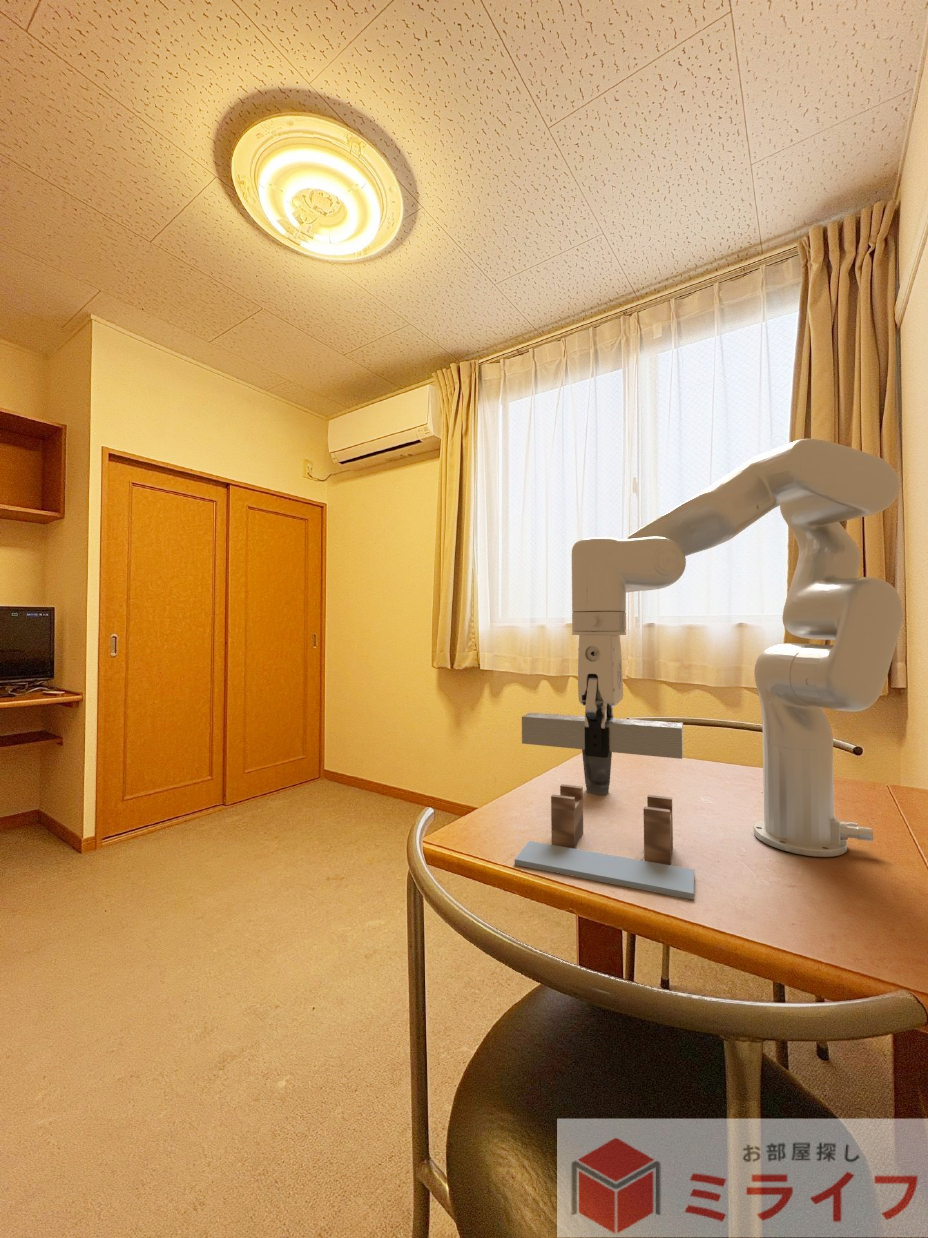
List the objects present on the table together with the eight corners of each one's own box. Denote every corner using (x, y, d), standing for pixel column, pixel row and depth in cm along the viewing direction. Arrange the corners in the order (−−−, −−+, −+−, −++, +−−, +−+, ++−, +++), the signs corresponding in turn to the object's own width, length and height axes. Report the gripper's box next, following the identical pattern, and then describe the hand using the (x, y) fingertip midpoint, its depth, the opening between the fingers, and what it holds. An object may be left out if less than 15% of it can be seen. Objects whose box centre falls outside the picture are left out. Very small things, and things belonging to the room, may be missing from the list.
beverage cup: (609, 799, 103) (608, 699, 103) (574, 793, 107) (573, 697, 107) (619, 789, 109) (618, 695, 109) (586, 784, 113) (584, 693, 113)
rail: (683, 752, 71) (682, 723, 71) (682, 758, 68) (681, 728, 68) (530, 738, 80) (529, 712, 80) (521, 743, 77) (521, 716, 77)
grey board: (694, 875, 72) (694, 869, 72) (693, 900, 66) (693, 893, 66) (529, 846, 82) (529, 840, 82) (514, 864, 76) (514, 859, 76)
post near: (672, 847, 81) (672, 797, 81) (670, 866, 75) (669, 812, 75) (648, 843, 82) (647, 794, 82) (644, 861, 76) (643, 808, 76)
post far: (583, 833, 87) (582, 786, 87) (574, 849, 81) (573, 799, 81) (562, 829, 88) (561, 784, 88) (551, 845, 82) (551, 796, 82)
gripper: (616, 624, 65) (618, 770, 65) (633, 624, 80) (634, 742, 80) (558, 625, 68) (559, 764, 68) (584, 625, 83) (585, 738, 83)
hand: (599, 751), depth 74 cm, fingers closed on rail, 4 cm apart
